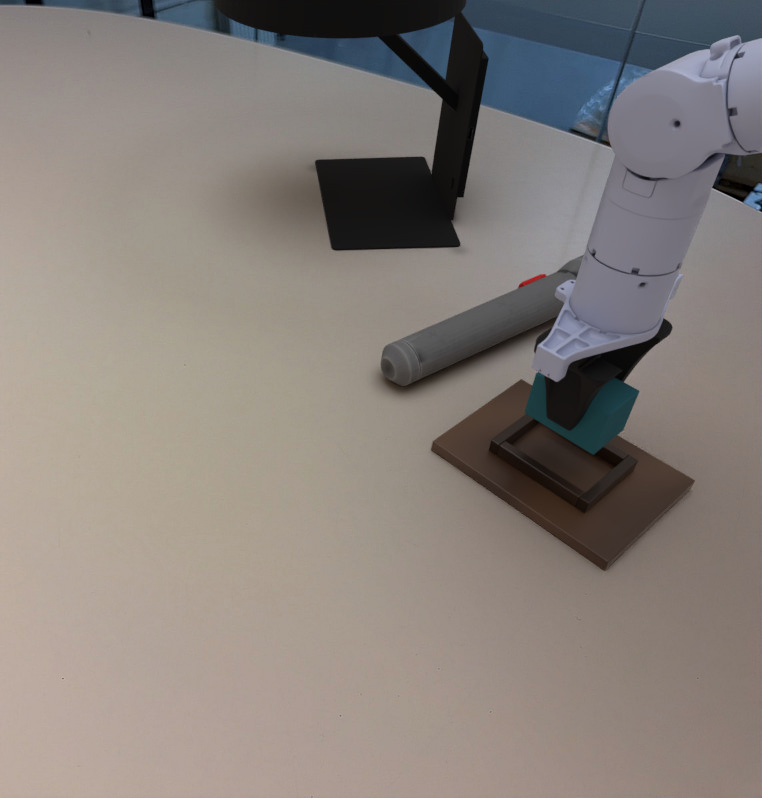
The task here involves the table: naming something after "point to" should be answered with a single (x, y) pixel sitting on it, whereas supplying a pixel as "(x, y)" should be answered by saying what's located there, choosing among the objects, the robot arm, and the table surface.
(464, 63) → the table lamp
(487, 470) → the brown board with frame
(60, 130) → the table surface
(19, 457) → the table surface
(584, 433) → the teal block
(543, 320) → the flashlight
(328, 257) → the table surface
